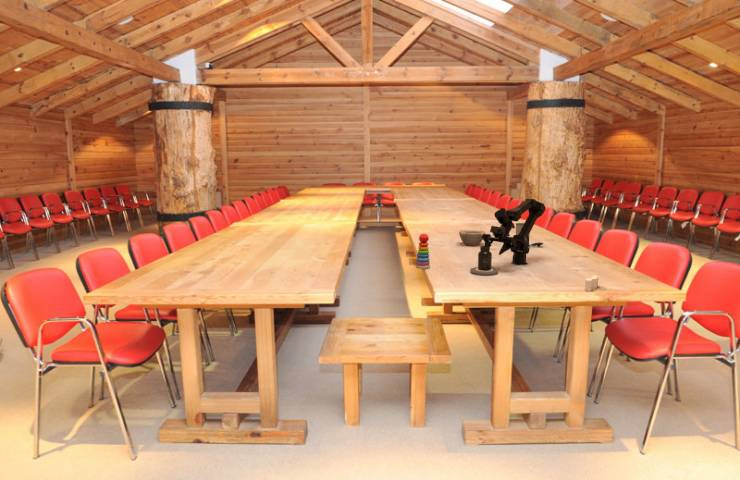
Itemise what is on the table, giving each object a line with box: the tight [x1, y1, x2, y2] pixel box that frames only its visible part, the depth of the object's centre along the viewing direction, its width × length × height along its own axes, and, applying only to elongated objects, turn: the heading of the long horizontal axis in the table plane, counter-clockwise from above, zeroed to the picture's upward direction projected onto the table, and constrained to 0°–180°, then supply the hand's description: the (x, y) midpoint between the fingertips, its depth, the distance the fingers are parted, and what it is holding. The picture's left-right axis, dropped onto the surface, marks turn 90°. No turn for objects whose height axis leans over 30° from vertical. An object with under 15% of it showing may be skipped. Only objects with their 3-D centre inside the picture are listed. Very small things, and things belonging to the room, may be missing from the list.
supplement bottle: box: [477, 245, 493, 271], centre depth 279 cm, size 7×7×12 cm
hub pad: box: [469, 266, 499, 277], centre depth 280 cm, size 14×14×2 cm
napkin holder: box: [584, 275, 599, 292], centre depth 247 cm, size 15×11×6 cm
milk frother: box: [515, 222, 544, 248], centre depth 353 cm, size 14×16×15 cm
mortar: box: [458, 229, 486, 247], centre depth 360 cm, size 17×17×9 cm
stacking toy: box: [414, 232, 431, 270], centre depth 291 cm, size 8×8×19 cm
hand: (491, 253), depth 283 cm, fingers open, 9 cm apart
